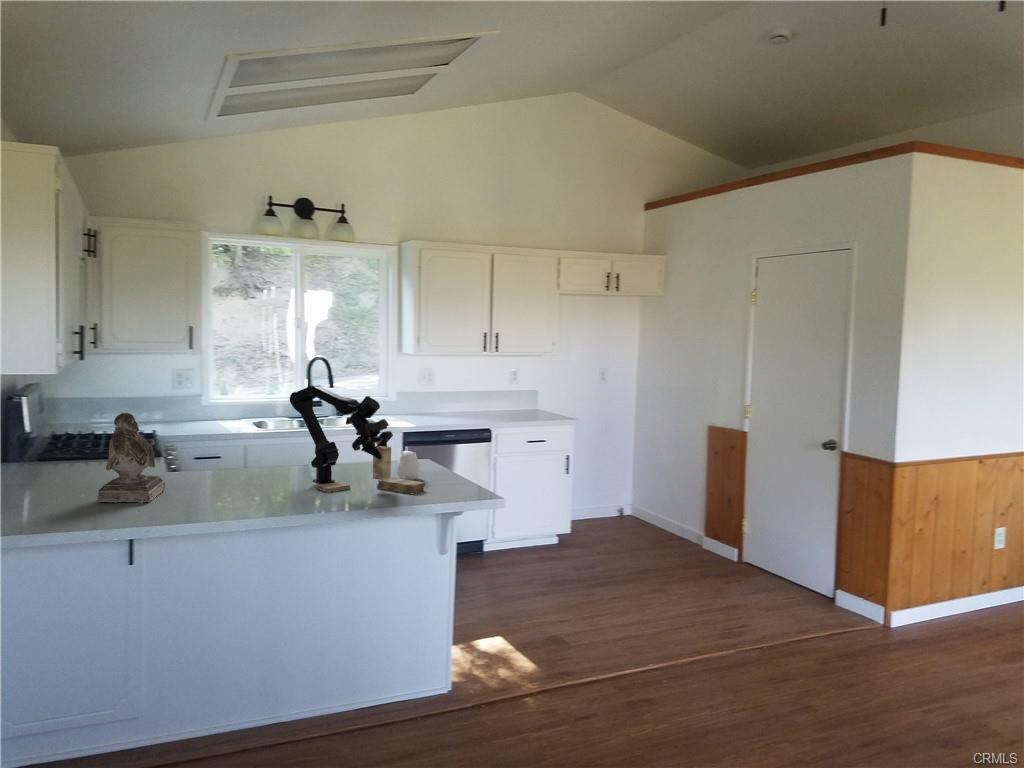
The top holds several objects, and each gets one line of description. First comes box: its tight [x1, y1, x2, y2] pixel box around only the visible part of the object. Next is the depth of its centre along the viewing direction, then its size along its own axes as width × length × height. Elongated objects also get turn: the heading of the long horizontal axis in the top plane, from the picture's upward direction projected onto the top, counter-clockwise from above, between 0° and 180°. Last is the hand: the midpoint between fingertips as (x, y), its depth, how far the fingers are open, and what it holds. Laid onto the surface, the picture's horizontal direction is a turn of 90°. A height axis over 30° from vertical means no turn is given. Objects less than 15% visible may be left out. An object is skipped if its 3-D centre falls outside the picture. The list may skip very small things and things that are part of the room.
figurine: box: [396, 450, 422, 481], centre depth 305 cm, size 10×10×12 cm
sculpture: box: [97, 412, 166, 503], centre depth 262 cm, size 19×17×30 cm
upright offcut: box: [372, 445, 392, 480], centre depth 283 cm, size 5×4×12 cm
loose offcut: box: [316, 481, 351, 493], centre depth 285 cm, size 7×10×2 cm
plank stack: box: [376, 477, 426, 494], centre depth 287 cm, size 17×7×3 cm, turn 62°
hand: (385, 457), depth 282 cm, fingers closed on upright offcut, 4 cm apart
